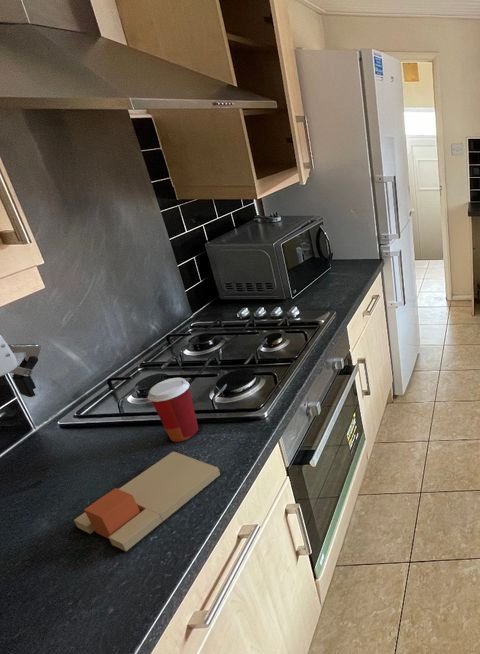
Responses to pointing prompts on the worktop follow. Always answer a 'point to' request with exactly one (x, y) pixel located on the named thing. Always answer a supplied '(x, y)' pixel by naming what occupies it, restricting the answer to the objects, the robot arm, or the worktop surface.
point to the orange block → (112, 512)
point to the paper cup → (175, 408)
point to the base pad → (158, 495)
